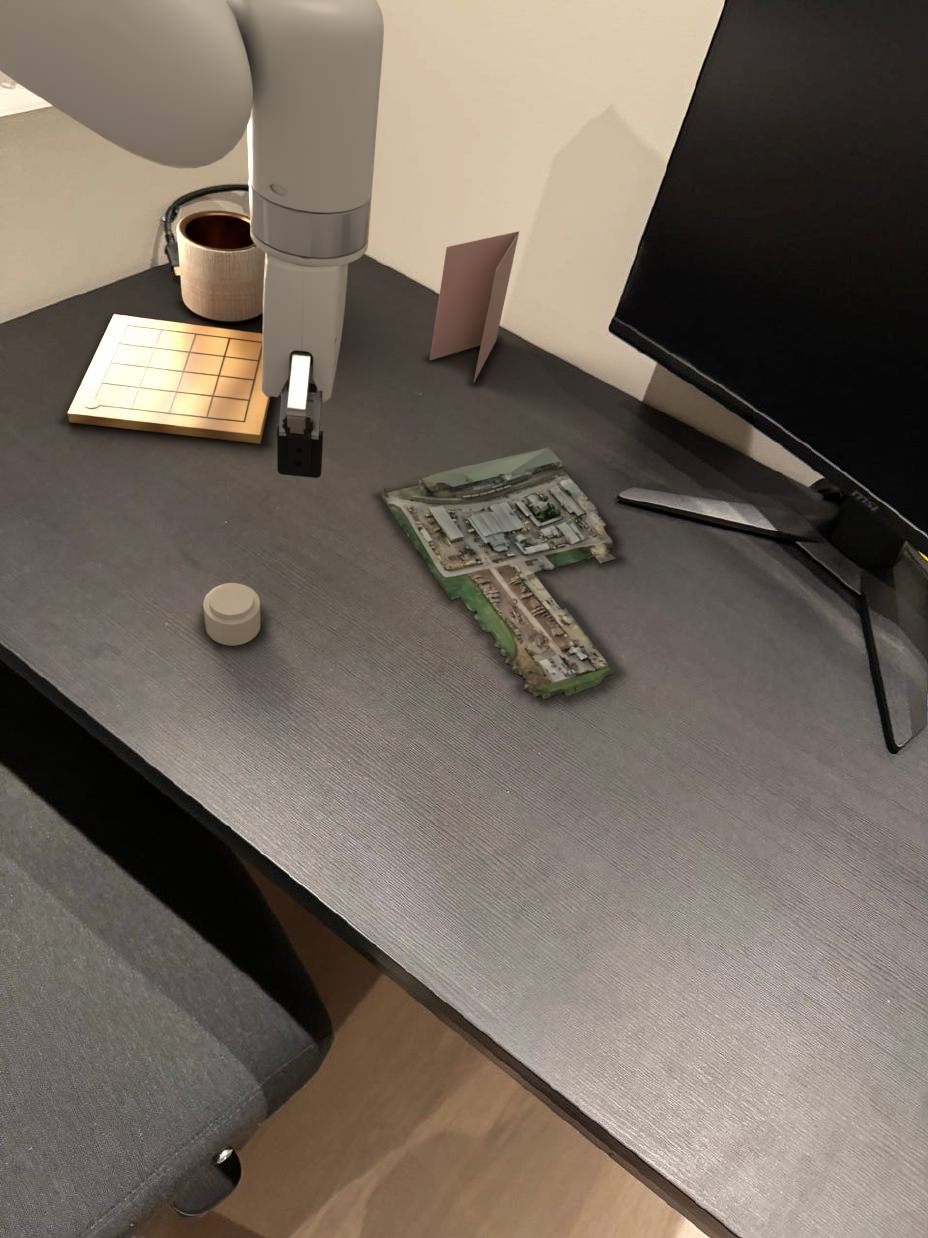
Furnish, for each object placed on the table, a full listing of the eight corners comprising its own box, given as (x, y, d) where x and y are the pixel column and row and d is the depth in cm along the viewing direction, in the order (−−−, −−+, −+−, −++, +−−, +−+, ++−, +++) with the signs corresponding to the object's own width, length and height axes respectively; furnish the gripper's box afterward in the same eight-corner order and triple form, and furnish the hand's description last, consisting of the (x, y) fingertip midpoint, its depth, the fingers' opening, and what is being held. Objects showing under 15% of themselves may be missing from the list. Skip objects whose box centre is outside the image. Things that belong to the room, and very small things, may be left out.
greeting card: (492, 336, 115) (514, 227, 104) (527, 365, 112) (554, 256, 100) (425, 356, 109) (441, 243, 98) (461, 387, 106) (482, 273, 95)
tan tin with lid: (201, 643, 74) (198, 617, 71) (210, 602, 77) (207, 575, 74) (256, 648, 75) (255, 622, 72) (263, 607, 78) (263, 580, 75)
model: (525, 712, 75) (530, 702, 74) (381, 497, 90) (382, 485, 89) (704, 643, 84) (710, 633, 83) (545, 458, 99) (549, 447, 98)
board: (69, 422, 90) (67, 412, 89) (115, 322, 103) (113, 313, 102) (260, 443, 93) (260, 434, 92) (281, 344, 106) (281, 335, 105)
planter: (260, 331, 107) (259, 258, 100) (173, 317, 106) (165, 242, 98) (275, 289, 114) (275, 218, 107) (193, 275, 113) (187, 202, 106)
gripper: (266, 152, 59) (269, 365, 71) (229, 274, 47) (241, 502, 60) (374, 168, 60) (358, 376, 72) (363, 292, 48) (347, 512, 61)
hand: (305, 433), depth 66 cm, fingers open, 9 cm apart
